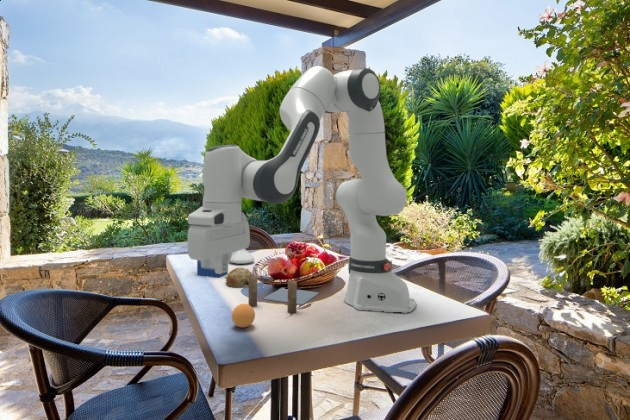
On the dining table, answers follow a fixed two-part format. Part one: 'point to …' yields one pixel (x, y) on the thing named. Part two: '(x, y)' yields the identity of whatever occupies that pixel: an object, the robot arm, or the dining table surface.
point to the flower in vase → (241, 257)
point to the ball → (243, 315)
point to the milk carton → (208, 269)
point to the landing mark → (282, 296)
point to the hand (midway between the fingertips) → (221, 272)
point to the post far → (253, 291)
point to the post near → (292, 296)
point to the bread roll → (238, 278)
